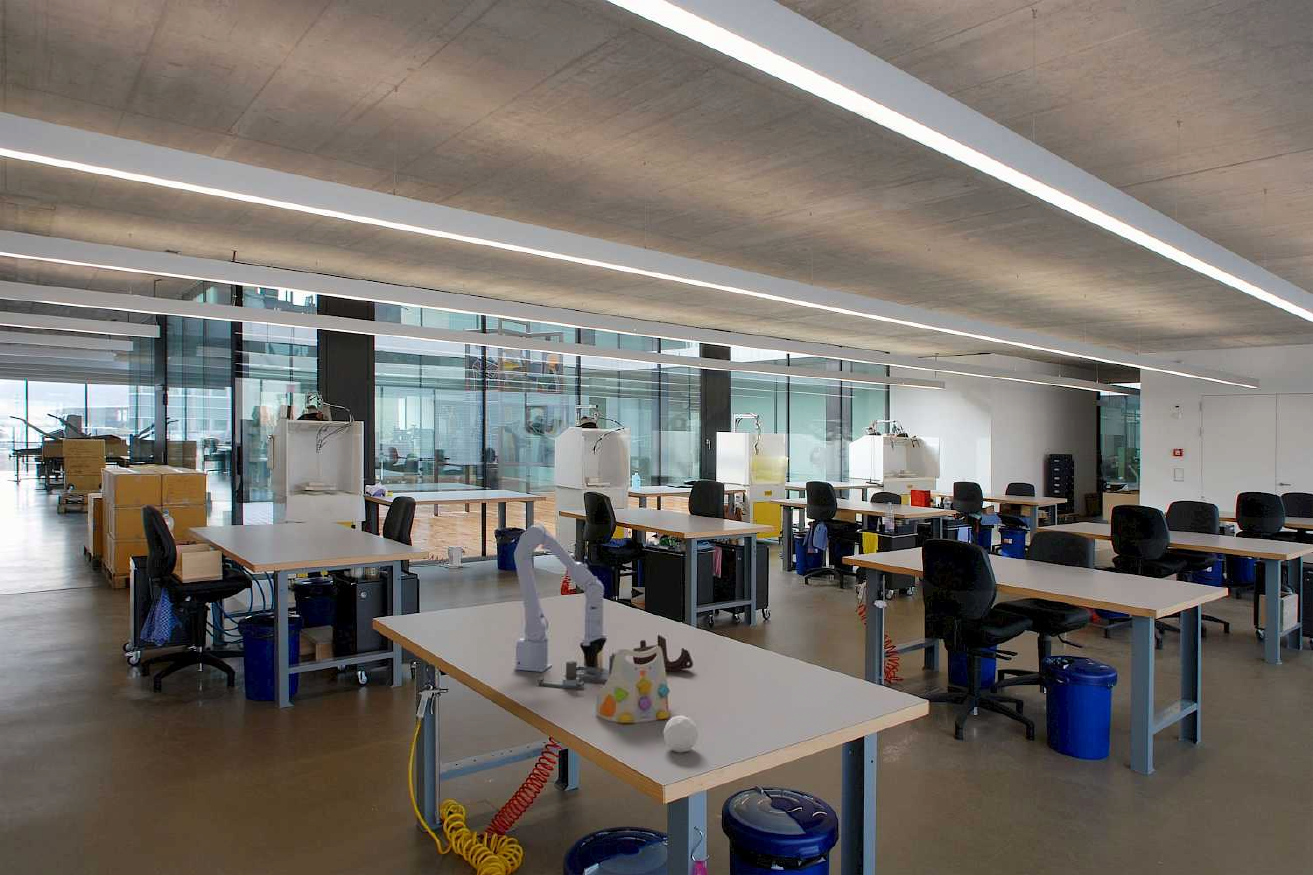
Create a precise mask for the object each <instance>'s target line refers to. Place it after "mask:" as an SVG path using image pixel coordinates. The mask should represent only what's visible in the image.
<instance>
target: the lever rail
mask: <svg viewBox="0 0 1313 875" xmlns="http://www.w3.org/2000/svg"><path fill="white" fill-rule="evenodd" d="M562 684H563V681H562V682H561V681H552V680H544V677H541V678H539V679H538V686H540V687H549V688H558V689H559V688H562V689H573V690H579V689H580V690H582V689H584V688H585V682H583V681H580V683H579V684H578V685H576V686H570V685H562Z"/></svg>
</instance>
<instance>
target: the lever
mask: <svg viewBox="0 0 1313 875" xmlns="http://www.w3.org/2000/svg"><path fill="white" fill-rule="evenodd" d="M577 666H578V662H577V661H574V660H569V661H566V662H565V675H566V677H565V676H564V678H563V679H562V682H563V684H562V685H570V686H576V685H578V684H580V683H581V681H580V678H578V677H577Z"/></svg>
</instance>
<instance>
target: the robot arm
mask: <svg viewBox="0 0 1313 875" xmlns="http://www.w3.org/2000/svg"><path fill="white" fill-rule="evenodd" d="M519 537H520V538H519V540H518V543H517V545H516V547H515V550H514V552H513V557H514V563H515V567H516V572H517V573H516V574H517V578H518V582H519V583H518V584H519V586H520V587H519V588H520V592H521V598H522V602H523V607H524V612H525V613H524V619H525V626H524V637H520V638H519V639H518V640H517V642H516V646H515V666H514V668H513V669H514V670H516V671H517V670H519V671H528V672H529V671H530V672H539V673H543V672H544V671H546V670H548V669H549V668H550V667H552V666H553V664H552V663H548V662H549V661H548V659H549V657H548V656H549V654H548V653H549V637H548V635H547V633H546V632H547V630H548V629H549V628H548V627H549V621H548V619H547V618H546V616H545V615H544V611H543V608H542V606H541V603H540V598H539V594H538V587H537V583H536V579H535V574H534V569H533V568H534V567H533V565H532V564H533V563H532V558H531V556H532V554H533V553H534V552H535V551H536V549H537V548H538V547H539V546H541V547H540V549H541V550H546V551H550V552H551V553H552V554H553V555H554V556H555V557H556V559H558V560H559V562H561V564H562V565H564V567H565V568H566V569H567V576H568V578H570V579H571V580H572V581H573V582H574V583H575V584H576V586H577V587H578V588H579V589H580V590H582V591H584V592H583V594H584V596H585V606H584V632H583V638H582V642H580V643H579V644H580V645H579V646H580V649H581V650H582V653H583V657H584V656H585V661H586V665H587V666H589V667H593V666H594V663H595V656H596V651H597V649H598V650H603V649H604V647H605V645H606V642H607V634H606V633H605V629H604V594H605V592H604V591H605V587H604V584H603V582H602V581H601V580H600V579H598V576H596V575H593V573H592V572H591V571H590V570H589V568H588V565H587V564H586V563H583V562H582V561H576V560H574V558H573V557H572V556H571V554H569V552H568V551H567V550H566V549H565V547H563V545H562V544H561V543H560V541H559V540H558V539H557V538H556V537H555V536H554V535H553V534H552V533H551V531H549V530H547V529H546V527H545V526H544V525H542V524H539V523H535V524H532V525H530V526H529V527H528V528H526V529H525V531H523V533H522V534H521V535H520V536H519Z"/></svg>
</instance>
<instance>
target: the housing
mask: <svg viewBox="0 0 1313 875" xmlns="http://www.w3.org/2000/svg"><path fill="white" fill-rule="evenodd" d="M583 666H587V665H586V661H585V656H584V655H583ZM587 667H589V666H587ZM593 667H598V668H603V649H602V650H598V649H597V651H596V656H595V663H594V666H593Z"/></svg>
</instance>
